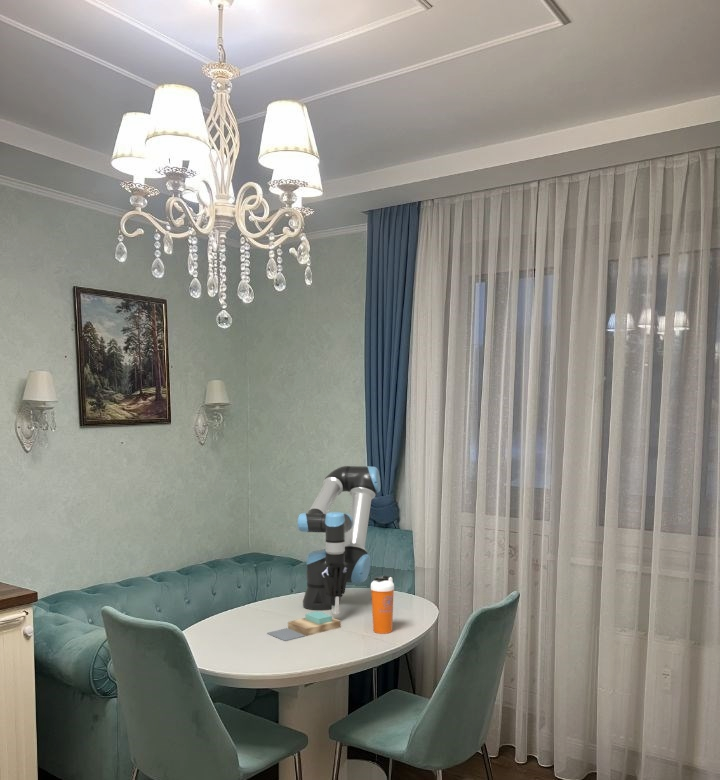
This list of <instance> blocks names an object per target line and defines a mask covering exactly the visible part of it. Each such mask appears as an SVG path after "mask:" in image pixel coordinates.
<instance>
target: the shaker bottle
mask: <svg viewBox="0 0 720 780" xmlns="http://www.w3.org/2000/svg"><path fill="white" fill-rule="evenodd" d="M393 581H394V580H393V577H391V576H388V575H386V574H384V575H382V576H375V577H373V581H371V583H370V591H371V592H370V593H371V610H372V612H371V613H372V631H373V633H376V634H381V635H383V634H385V635H386V634H390V633H392V631H393V617H394V616H393V615H394V590H395V583H394V582H393Z"/></svg>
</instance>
